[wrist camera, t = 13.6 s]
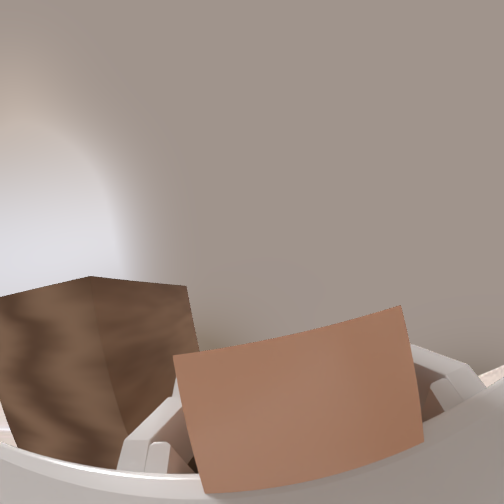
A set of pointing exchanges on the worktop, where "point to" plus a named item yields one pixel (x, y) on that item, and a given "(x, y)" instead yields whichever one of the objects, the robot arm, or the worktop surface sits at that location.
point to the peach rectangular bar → (301, 404)
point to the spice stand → (89, 363)
